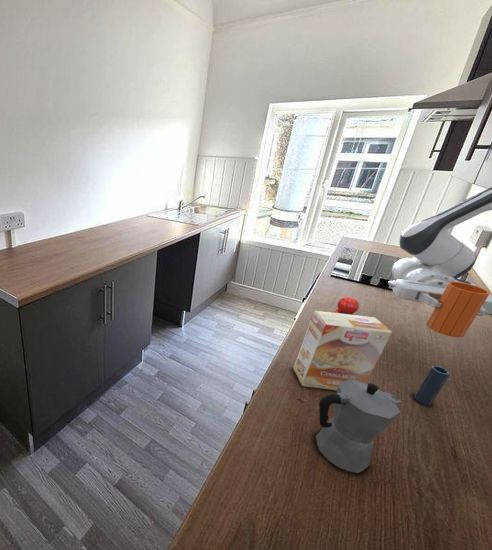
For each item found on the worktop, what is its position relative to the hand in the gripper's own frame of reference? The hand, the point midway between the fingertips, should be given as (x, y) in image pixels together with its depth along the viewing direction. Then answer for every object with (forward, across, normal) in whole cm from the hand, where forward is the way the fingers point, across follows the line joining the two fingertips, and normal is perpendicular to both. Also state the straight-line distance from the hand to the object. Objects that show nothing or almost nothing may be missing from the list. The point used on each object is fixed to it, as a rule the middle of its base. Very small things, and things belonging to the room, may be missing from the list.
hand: (459, 309), depth 72 cm
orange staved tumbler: (-1, 0, +6) cm, 7 cm away
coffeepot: (+33, -27, +24) cm, 49 cm away
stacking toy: (-7, -20, +24) cm, 32 cm away
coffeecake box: (+10, -24, +24) cm, 35 cm away
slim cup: (+8, -2, +24) cm, 25 cm away
